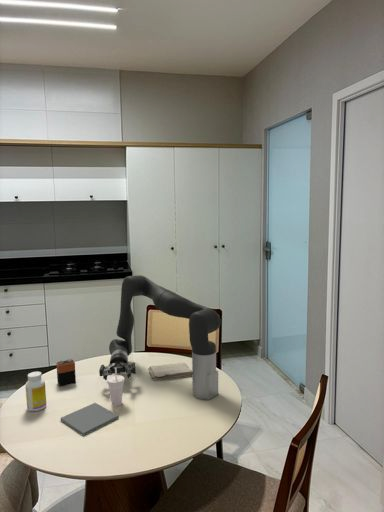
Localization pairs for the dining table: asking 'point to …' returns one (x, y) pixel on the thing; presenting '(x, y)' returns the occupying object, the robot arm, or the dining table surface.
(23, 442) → the dining table surface
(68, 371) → the battery
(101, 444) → the dining table surface
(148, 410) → the dining table surface
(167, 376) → the washcloth
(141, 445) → the dining table surface
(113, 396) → the smoothie
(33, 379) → the supplement bottle
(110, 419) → the coaster
